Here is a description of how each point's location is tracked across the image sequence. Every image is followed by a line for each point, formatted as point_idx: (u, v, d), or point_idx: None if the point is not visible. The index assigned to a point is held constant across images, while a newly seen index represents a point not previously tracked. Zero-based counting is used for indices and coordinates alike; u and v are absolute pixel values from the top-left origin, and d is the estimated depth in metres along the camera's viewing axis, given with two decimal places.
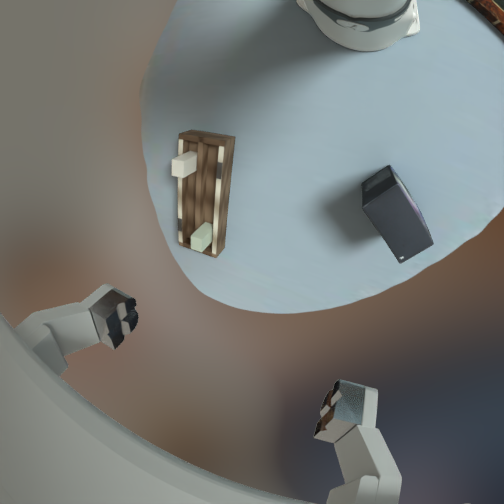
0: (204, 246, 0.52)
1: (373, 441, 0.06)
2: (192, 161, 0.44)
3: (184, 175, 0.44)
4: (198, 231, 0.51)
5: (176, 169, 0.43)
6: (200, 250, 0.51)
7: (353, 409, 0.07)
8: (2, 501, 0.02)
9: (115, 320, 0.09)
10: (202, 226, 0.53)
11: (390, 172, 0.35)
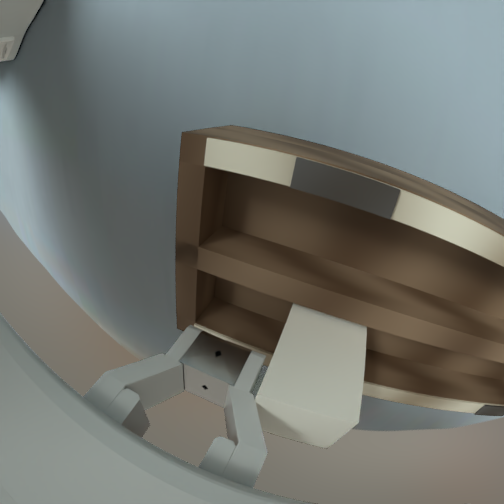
0: None
1: (242, 405, 0.07)
2: (302, 338, 0.09)
3: (347, 410, 0.06)
4: None
5: (302, 430, 0.07)
6: None
7: (229, 369, 0.08)
8: (2, 501, 0.02)
9: None
10: None
11: None
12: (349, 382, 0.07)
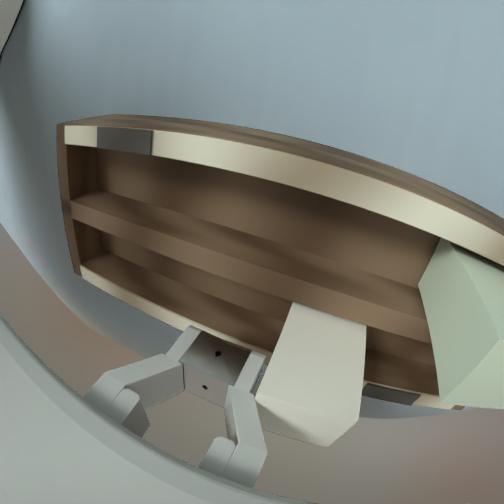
0: None
1: (243, 405, 0.07)
2: (302, 336, 0.09)
3: (347, 408, 0.06)
4: (441, 336, 0.06)
5: (302, 428, 0.07)
6: None
7: (229, 369, 0.08)
8: (2, 501, 0.02)
9: None
10: (430, 304, 0.08)
11: None
12: (349, 380, 0.07)
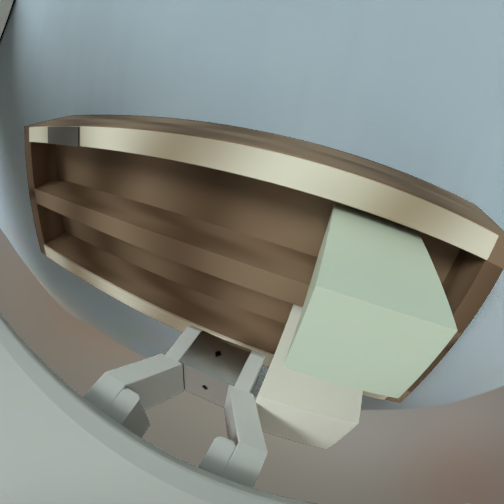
0: (421, 289, 0.05)
1: (243, 405, 0.07)
2: None
3: (348, 411, 0.06)
4: (306, 298, 0.07)
5: (303, 431, 0.07)
6: (438, 338, 0.04)
7: (229, 369, 0.08)
8: (2, 501, 0.02)
9: None
10: (314, 268, 0.09)
11: None
12: None
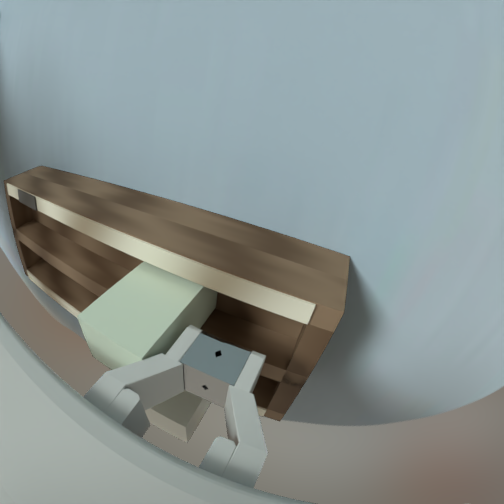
0: (142, 327, 0.08)
1: (243, 405, 0.07)
2: None
3: (180, 417, 0.09)
4: None
5: (162, 424, 0.10)
6: (135, 359, 0.07)
7: (229, 369, 0.08)
8: (2, 501, 0.02)
9: None
10: None
11: None
12: (189, 398, 0.10)
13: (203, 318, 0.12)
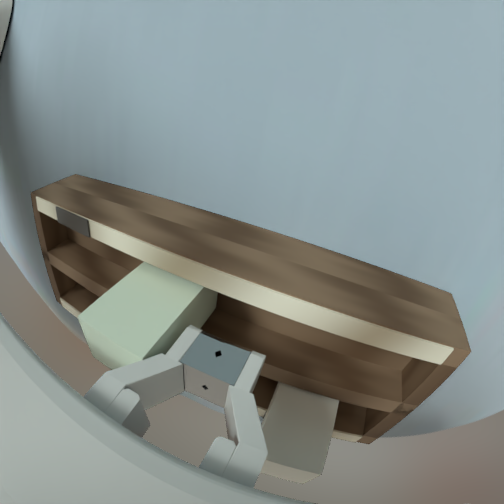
0: (142, 327, 0.08)
1: (243, 405, 0.07)
2: (286, 411, 0.10)
3: (314, 466, 0.08)
4: None
5: (283, 474, 0.09)
6: (135, 359, 0.07)
7: (229, 369, 0.08)
8: (2, 501, 0.02)
9: None
10: None
11: None
12: (318, 445, 0.09)
13: (203, 318, 0.12)
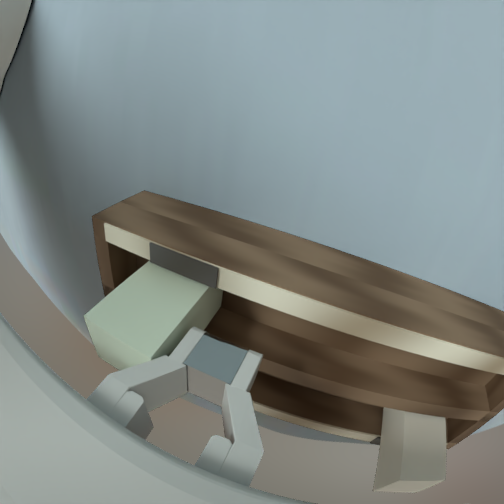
0: (150, 326, 0.08)
1: (239, 404, 0.07)
2: (414, 435, 0.09)
3: (440, 475, 0.07)
4: None
5: (410, 488, 0.07)
6: (143, 359, 0.08)
7: (226, 368, 0.08)
8: (2, 501, 0.02)
9: None
10: None
11: None
12: (440, 458, 0.08)
13: (209, 317, 0.12)
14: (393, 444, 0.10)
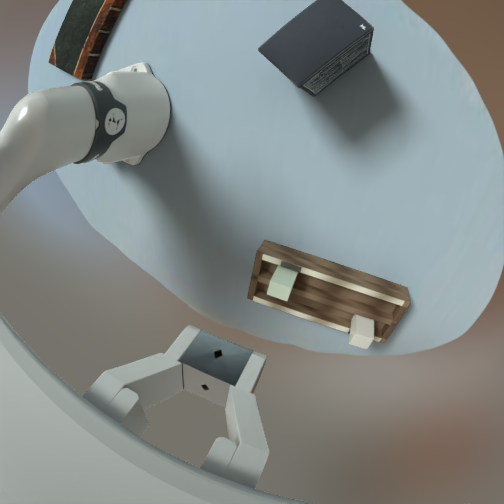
0: (288, 281, 0.37)
1: (244, 405, 0.07)
2: (360, 322, 0.38)
3: (371, 336, 0.35)
4: None
5: (362, 342, 0.36)
6: (288, 289, 0.36)
7: (230, 369, 0.08)
8: (2, 501, 0.02)
9: None
10: None
11: None
12: (371, 331, 0.36)
13: (294, 282, 0.40)
14: (353, 326, 0.38)
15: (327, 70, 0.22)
